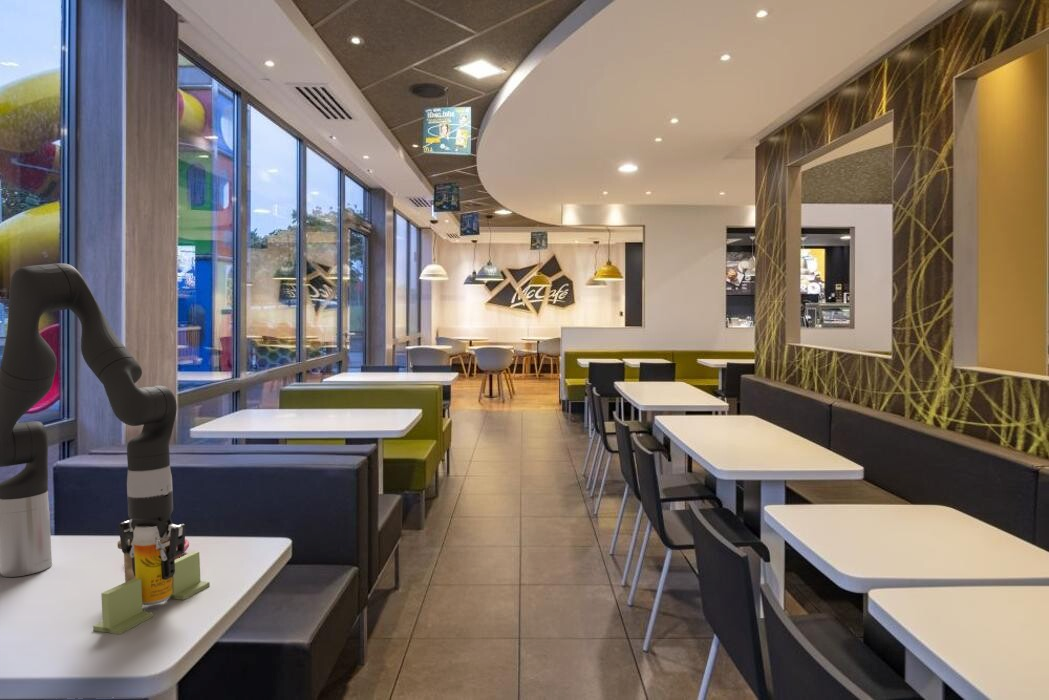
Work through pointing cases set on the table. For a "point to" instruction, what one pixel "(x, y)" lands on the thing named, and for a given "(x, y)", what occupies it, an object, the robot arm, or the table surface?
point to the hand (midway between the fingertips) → (154, 576)
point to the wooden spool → (127, 564)
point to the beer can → (150, 565)
